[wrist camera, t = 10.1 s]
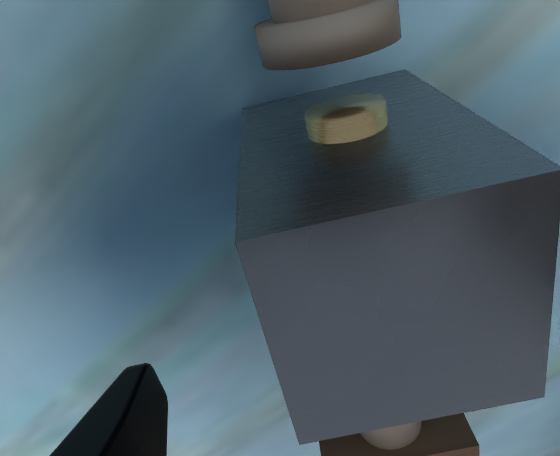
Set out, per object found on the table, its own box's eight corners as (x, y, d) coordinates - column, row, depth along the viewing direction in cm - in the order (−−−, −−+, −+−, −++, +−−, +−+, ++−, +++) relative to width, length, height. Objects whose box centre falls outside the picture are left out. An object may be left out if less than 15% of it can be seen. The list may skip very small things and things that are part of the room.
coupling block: (418, 226, 16) (542, 413, 9) (281, 256, 17) (304, 459, 10) (403, 52, 14) (566, 137, 7) (238, 92, 14) (226, 213, 7)
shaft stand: (429, 378, 20) (479, 490, 16) (317, 400, 20) (336, 517, 16) (370, -323, 10) (468, -564, 5) (143, -258, 10) (62, -436, 6)
